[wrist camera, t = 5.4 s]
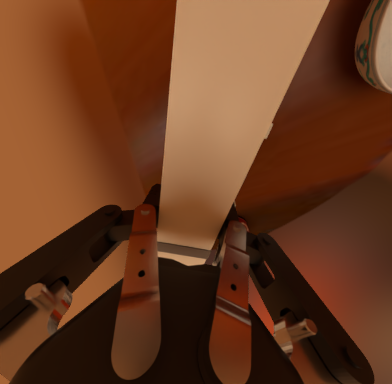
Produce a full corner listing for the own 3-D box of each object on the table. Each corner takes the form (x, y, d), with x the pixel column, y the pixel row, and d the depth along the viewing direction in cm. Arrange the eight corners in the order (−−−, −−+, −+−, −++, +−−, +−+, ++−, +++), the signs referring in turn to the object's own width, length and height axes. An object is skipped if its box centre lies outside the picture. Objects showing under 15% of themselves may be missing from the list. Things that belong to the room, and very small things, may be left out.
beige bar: (193, 8, 7) (181, -91, 3) (275, 34, 7) (347, -29, 4) (161, 251, 19) (152, 287, 16) (193, 256, 20) (190, 293, 16)
